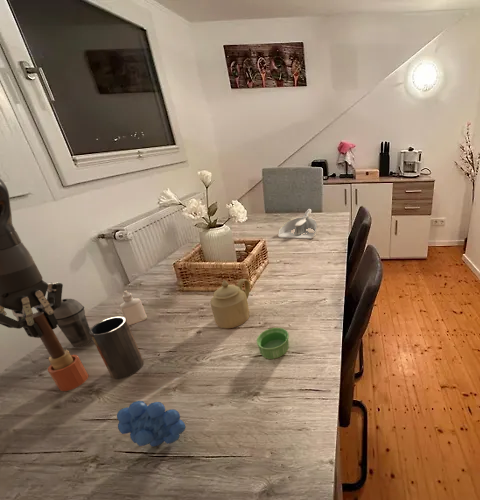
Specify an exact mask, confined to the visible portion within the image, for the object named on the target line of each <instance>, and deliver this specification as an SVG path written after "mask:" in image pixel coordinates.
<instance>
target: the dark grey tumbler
mask: <svg viewBox="0 0 480 500" xmlns="http://www.w3.org/2000/svg"><path fill="white" fill-rule="evenodd" d="M89 333H90V335H91V337H92V341H93V343H94V345H95V347H96V350H97V351H98V354H99V356H100V357H101V360H102V361H103V363H104V366H105V367H106V369H107V372H108V373H109V375H110V378H111V379H113V380H123V379H126V378H129V377H131V376H133V375H135V374H136V373H137V372H139V371H140V370H141V369H142V367H143V366H144V363H145V362H144V358H143V357H142V354H141V352H140V349H139V346H138V345H137V342H136V339H135V338H134V335H133V333H132V331H131V328H130V325H128V323H127V321H126V319H125V318H124V316H113V317H109V318H106V319H103V320H101V321H99V322H97V323H95V324H94V325H92V327H91V328H90V331H89Z"/></svg>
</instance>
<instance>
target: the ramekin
mask: <svg viewBox="0 0 480 500" xmlns="http://www.w3.org/2000/svg"><path fill="white" fill-rule="evenodd" d="M289 337H290V334H289V332H288V330H287V329H285V328H283V327H270V328H267V329H265V330H263V331H261V332H260V333H259V335H258V336H257V338H256V346H257V347H258V349H259V352H260V355H261V356H262V357H263V358H265V359H267V360H274V359H278V358H280V357H282V356H284V355H285V354H286V353H287V352H288V350H289Z"/></svg>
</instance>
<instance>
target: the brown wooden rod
mask: <svg viewBox="0 0 480 500" xmlns="http://www.w3.org/2000/svg"><path fill="white" fill-rule="evenodd" d="M32 317H33V319H34V323H37V325H38V327H39V328H40V330H41V332H42V334H43V336H42V337H40V338H39V339H40V340H41V343H42V344H43V345H44V347H45V349H46V351H47V352H48V354H49V357H48V362H49V363H50V365H52V367H53V368H54V370H59V369H63V368H65V367H67V366H69V365H70V364H72V363H73V362H74V360H73V358H72V357H71V355H72V354H71V352H70V351H69V350H68V349H64V348H63V346H62V344H61V342H60V340H59V338H58V336H57V334H56V333H55V331H54V329H52V327H51V326H50V324H49V322H48V320H47V318H46V317H45V315H44V313H43V312H38V311H37V312H33V314H32Z"/></svg>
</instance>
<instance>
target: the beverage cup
mask: <svg viewBox="0 0 480 500" xmlns="http://www.w3.org/2000/svg"><path fill="white" fill-rule="evenodd" d="M53 314H54V316H55V318H56V319H57V321H58V324H57V327H58V328H59V329H60V331H61V332H62V333H63V335H64V336H65V338H66V339H67V340H68V342H69V343H70V344H71V345H72V346H73V347H74V348H79V347H84V346H86V345H88V344H89V343H91V342H92V341H93V339H92V337H91V335H90V333H89V331H90V329H91V328H90V325H89V322H88V319H87V316H86V310H85V306H84V305H83V304H82V303H81V302H80V301H79V300H77V299H74V298H62V297H61V306H60V307H59V308H56V309H55V310H54V313H53Z"/></svg>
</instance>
